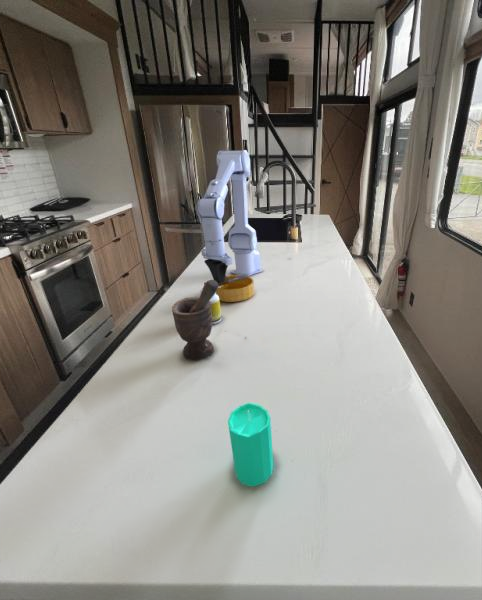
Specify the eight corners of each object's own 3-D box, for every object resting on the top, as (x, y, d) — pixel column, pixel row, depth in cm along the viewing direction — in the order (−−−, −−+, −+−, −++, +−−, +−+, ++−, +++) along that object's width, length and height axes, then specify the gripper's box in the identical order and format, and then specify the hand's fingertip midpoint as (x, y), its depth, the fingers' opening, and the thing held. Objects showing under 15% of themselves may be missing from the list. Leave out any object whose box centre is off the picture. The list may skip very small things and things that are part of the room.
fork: (245, 275, 111) (244, 269, 110) (248, 276, 110) (248, 270, 109) (204, 289, 102) (203, 282, 101) (207, 290, 100) (206, 284, 99)
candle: (236, 453, 53) (228, 397, 48) (272, 450, 53) (269, 394, 48) (233, 488, 48) (224, 429, 42) (274, 484, 48) (270, 425, 43)
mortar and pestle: (232, 343, 83) (223, 269, 74) (225, 363, 75) (215, 284, 66) (187, 343, 83) (174, 270, 74) (176, 363, 75) (159, 284, 67)
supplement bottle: (224, 316, 96) (220, 285, 92) (218, 325, 91) (214, 293, 87) (206, 315, 96) (201, 285, 92) (200, 324, 91) (195, 293, 87)
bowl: (239, 283, 118) (238, 272, 116) (262, 294, 109) (261, 281, 107) (207, 294, 110) (205, 282, 108) (229, 307, 101) (228, 294, 99)
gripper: (190, 238, 100) (196, 278, 106) (215, 247, 90) (221, 291, 96) (210, 233, 104) (215, 273, 110) (236, 241, 95) (240, 284, 100)
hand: (219, 281), depth 103 cm, fingers closed on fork, 1 cm apart
